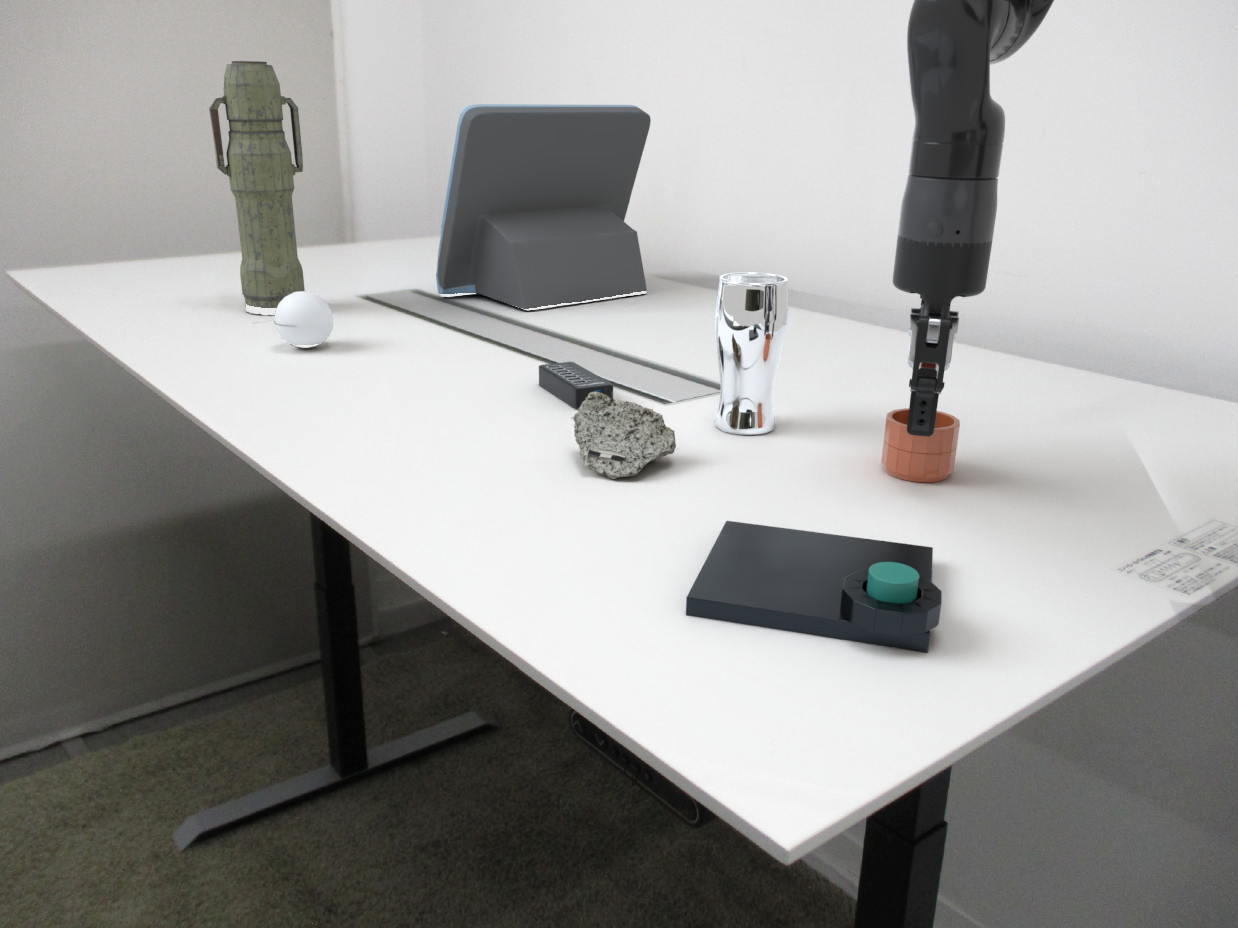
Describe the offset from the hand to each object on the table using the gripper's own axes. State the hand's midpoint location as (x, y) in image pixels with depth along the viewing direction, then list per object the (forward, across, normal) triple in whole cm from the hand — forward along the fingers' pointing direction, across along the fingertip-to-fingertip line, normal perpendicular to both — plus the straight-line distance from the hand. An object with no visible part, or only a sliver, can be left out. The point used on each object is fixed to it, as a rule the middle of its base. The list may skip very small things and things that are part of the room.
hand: (920, 419), depth 89 cm
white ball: (+6, +21, +78) cm, 81 cm away
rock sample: (+5, -7, +25) cm, 26 cm away
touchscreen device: (+6, +68, +60) cm, 91 cm away
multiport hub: (+5, +13, +37) cm, 39 cm away
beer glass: (+5, +8, +17) cm, 19 cm away
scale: (+5, -26, +6) cm, 27 cm away
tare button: (+2, -31, +1) cm, 31 cm away
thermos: (+6, +41, +95) cm, 103 cm away
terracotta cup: (+5, 0, 0) cm, 5 cm away
